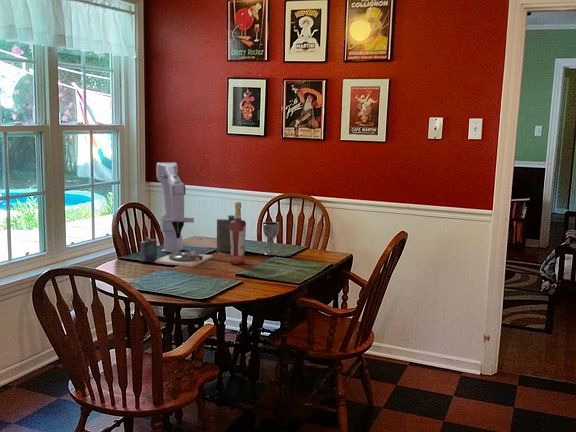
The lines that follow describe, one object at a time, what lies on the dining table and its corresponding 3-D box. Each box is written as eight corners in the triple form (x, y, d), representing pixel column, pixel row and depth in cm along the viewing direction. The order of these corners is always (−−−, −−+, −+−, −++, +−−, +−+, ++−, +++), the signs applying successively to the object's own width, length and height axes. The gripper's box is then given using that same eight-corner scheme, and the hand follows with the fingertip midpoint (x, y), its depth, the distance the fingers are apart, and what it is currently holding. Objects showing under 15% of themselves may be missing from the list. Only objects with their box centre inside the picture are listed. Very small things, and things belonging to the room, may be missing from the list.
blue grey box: (143, 262, 276) (142, 238, 274) (138, 261, 277) (138, 238, 275) (158, 258, 283) (157, 235, 281) (153, 257, 285) (153, 235, 283)
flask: (218, 249, 304) (218, 214, 301) (245, 251, 301) (246, 215, 298) (215, 251, 300) (216, 215, 297) (243, 253, 298) (244, 217, 295)
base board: (177, 253, 294) (177, 248, 293) (212, 257, 288) (212, 252, 287) (154, 262, 275) (154, 256, 275) (192, 267, 269) (192, 261, 269)
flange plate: (162, 257, 280) (162, 249, 279) (185, 252, 291) (185, 244, 290) (186, 263, 270) (186, 254, 270) (209, 257, 281) (209, 249, 280)
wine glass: (279, 251, 303) (280, 222, 300) (277, 255, 295) (278, 224, 292) (263, 251, 303) (264, 221, 301) (261, 254, 296) (261, 224, 293)
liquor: (243, 266, 273) (243, 204, 268) (227, 265, 274) (227, 203, 269) (247, 262, 280) (248, 202, 275) (232, 261, 281) (232, 201, 276)
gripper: (162, 210, 276) (162, 240, 279) (194, 210, 280) (194, 239, 282) (161, 208, 283) (161, 236, 285) (193, 207, 287) (193, 236, 289)
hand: (178, 237), depth 284 cm, fingers closed
